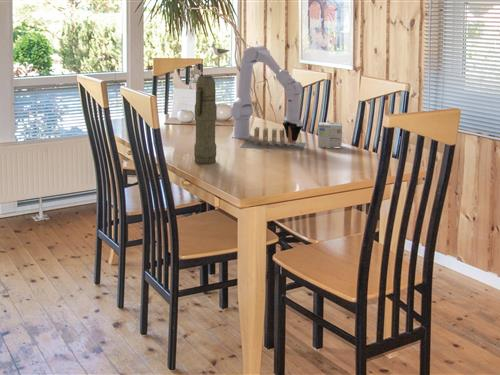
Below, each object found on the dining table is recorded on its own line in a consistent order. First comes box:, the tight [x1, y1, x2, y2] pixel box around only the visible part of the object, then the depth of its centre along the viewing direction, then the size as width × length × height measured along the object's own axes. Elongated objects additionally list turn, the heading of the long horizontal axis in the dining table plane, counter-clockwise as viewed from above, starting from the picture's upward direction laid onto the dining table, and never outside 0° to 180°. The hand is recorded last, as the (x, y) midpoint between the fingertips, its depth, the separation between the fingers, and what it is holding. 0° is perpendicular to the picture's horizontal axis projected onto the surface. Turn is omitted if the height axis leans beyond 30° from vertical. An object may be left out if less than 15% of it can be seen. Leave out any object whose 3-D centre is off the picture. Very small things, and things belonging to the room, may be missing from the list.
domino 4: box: [279, 127, 286, 146], centre depth 351 cm, size 2×5×7 cm, turn 172°
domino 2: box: [262, 127, 269, 145], centre depth 352 cm, size 2×5×7 cm, turn 172°
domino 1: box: [253, 126, 260, 145], centre depth 353 cm, size 2×5×7 cm, turn 172°
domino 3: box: [271, 127, 278, 146], centre depth 352 cm, size 2×5×7 cm, turn 172°
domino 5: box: [287, 127, 297, 144], centre depth 350 cm, size 2×5×7 cm, turn 23°
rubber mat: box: [239, 139, 307, 152], centre depth 351 cm, size 18×28×1 cm, turn 82°
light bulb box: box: [317, 121, 343, 149], centre depth 350 cm, size 11×7×11 cm, turn 84°
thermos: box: [193, 74, 218, 165], centre depth 314 cm, size 9×12×35 cm
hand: (291, 139), depth 351 cm, fingers closed on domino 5, 5 cm apart
